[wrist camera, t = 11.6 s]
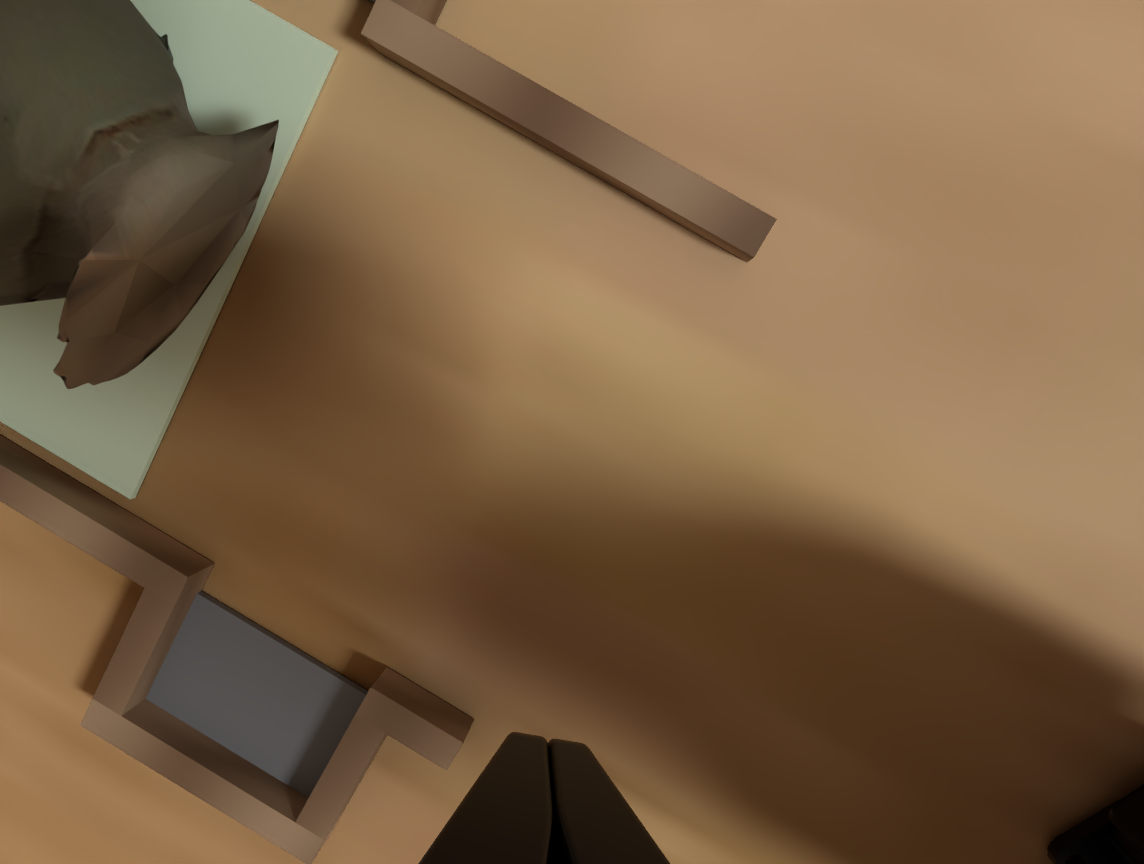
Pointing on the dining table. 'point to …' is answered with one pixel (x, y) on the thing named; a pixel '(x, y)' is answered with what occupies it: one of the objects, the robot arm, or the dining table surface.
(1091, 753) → the dining table surface
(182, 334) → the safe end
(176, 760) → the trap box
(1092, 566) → the dining table surface
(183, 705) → the mats
